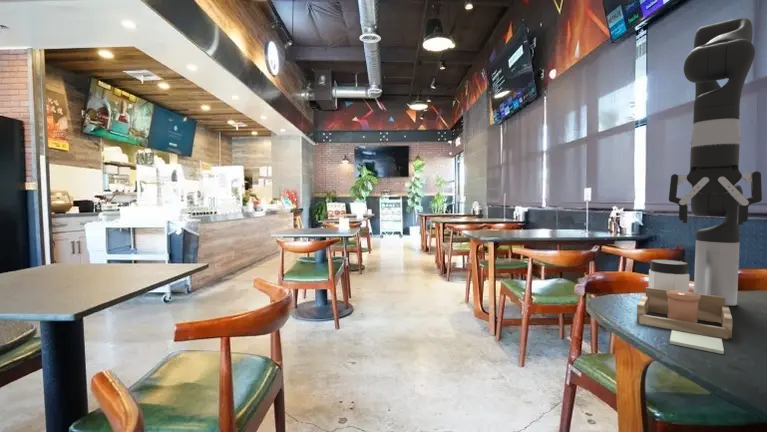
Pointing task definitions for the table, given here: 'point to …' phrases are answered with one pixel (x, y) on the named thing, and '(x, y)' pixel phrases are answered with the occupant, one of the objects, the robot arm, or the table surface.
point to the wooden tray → (707, 310)
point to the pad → (697, 341)
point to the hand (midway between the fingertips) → (711, 223)
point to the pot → (683, 305)
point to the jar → (669, 275)
